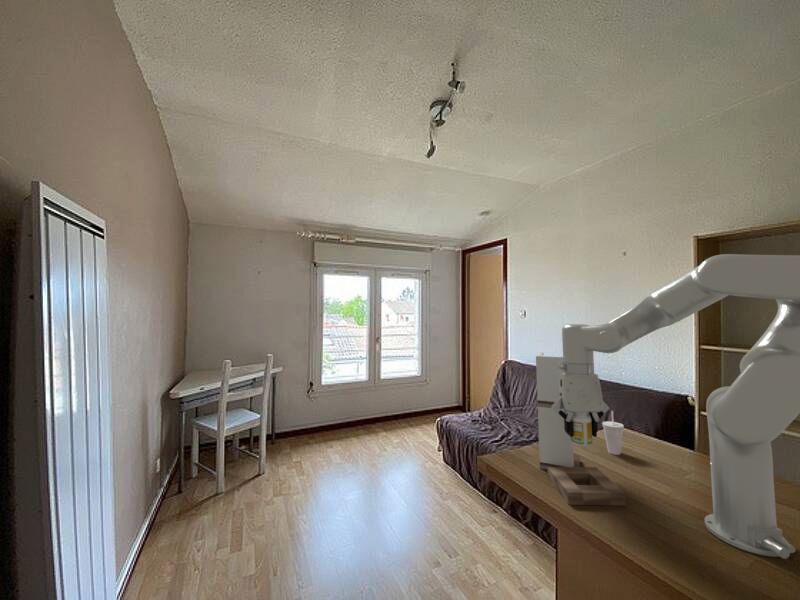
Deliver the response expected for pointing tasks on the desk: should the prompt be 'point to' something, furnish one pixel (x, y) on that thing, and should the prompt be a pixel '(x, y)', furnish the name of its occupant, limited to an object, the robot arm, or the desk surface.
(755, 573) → the desk surface
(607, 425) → the smoothie
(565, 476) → the socket block
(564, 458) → the tall seamed white column
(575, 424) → the supplement bottle
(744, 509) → the robot arm
